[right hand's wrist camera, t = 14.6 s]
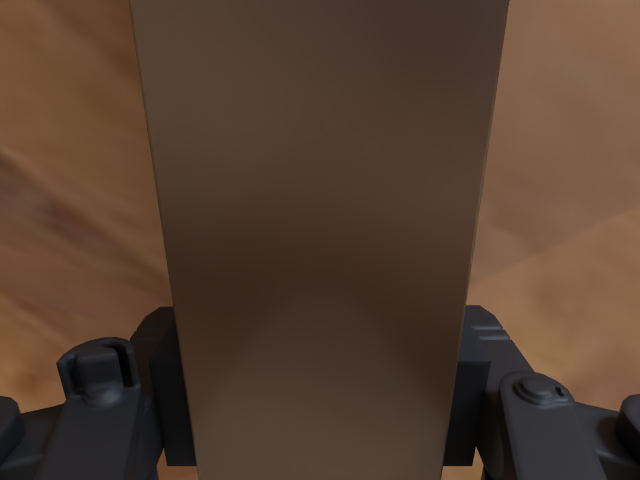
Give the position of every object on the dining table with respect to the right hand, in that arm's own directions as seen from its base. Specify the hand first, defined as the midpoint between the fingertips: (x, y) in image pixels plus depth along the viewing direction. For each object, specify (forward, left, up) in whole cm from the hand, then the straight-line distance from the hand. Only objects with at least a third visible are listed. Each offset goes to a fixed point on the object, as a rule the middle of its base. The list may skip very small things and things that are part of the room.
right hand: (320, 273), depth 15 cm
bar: (-14, -24, -1) cm, 28 cm away
